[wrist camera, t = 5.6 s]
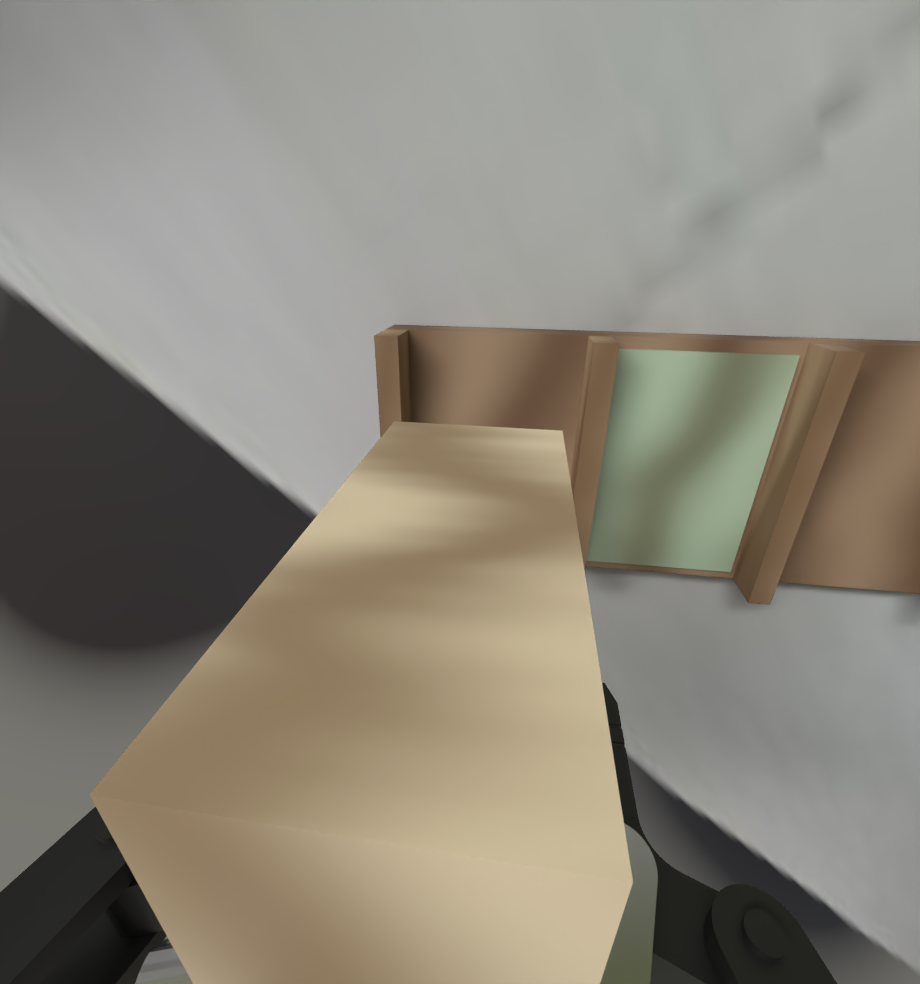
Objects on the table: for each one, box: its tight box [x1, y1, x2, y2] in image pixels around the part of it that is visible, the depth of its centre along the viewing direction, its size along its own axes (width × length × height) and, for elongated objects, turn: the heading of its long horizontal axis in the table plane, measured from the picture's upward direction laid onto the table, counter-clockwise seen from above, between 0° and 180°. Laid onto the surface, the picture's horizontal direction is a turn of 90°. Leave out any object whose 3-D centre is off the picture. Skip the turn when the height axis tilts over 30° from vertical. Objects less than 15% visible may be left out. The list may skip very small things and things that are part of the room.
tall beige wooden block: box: [90, 421, 633, 984], centre depth 10 cm, size 4×11×9 cm, turn 179°
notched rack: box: [374, 325, 920, 605], centre depth 23 cm, size 28×12×4 cm, turn 89°
